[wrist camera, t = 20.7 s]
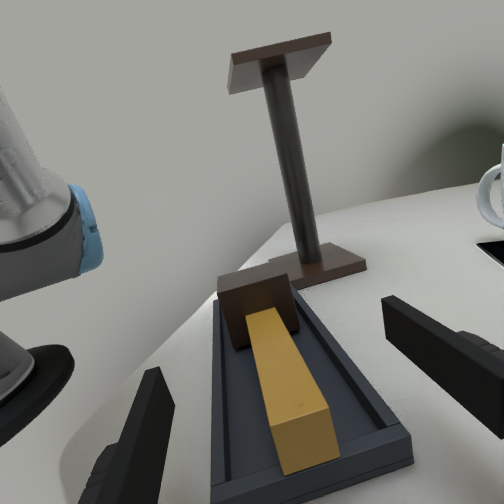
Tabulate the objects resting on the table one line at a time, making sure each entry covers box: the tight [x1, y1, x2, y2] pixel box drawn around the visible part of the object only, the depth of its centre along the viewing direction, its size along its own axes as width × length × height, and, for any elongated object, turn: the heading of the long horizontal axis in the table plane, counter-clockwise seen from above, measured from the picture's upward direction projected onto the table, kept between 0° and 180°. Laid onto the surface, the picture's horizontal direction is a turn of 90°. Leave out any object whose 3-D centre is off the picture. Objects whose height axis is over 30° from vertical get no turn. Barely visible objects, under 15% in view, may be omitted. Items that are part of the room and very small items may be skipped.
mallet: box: [217, 261, 340, 476], centre depth 22 cm, size 19×7×6 cm, turn 8°
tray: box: [210, 283, 414, 504], centre depth 24 cm, size 24×11×2 cm, turn 8°
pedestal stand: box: [227, 32, 367, 290], centre depth 39 cm, size 12×12×30 cm
